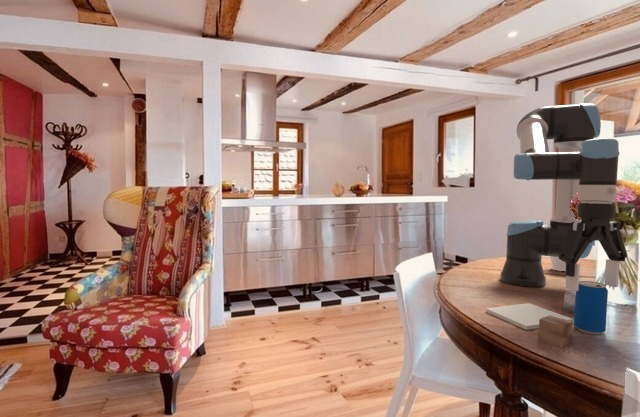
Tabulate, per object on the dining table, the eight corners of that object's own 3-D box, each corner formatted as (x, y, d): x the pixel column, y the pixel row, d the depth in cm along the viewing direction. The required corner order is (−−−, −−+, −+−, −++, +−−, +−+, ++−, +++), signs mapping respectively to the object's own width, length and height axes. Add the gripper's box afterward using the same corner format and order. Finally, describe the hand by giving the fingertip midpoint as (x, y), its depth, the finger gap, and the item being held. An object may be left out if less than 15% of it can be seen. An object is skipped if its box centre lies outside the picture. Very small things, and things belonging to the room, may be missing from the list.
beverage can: (606, 337, 89) (609, 288, 89) (574, 332, 93) (576, 284, 92) (603, 329, 95) (606, 282, 94) (573, 323, 98) (575, 279, 97)
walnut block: (548, 335, 91) (549, 315, 91) (571, 342, 87) (572, 321, 86) (538, 339, 88) (539, 319, 88) (561, 347, 84) (562, 325, 84)
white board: (528, 306, 112) (528, 303, 112) (573, 322, 99) (573, 319, 99) (485, 311, 107) (485, 308, 107) (526, 329, 94) (526, 326, 94)
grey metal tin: (573, 306, 112) (574, 290, 112) (593, 313, 107) (594, 296, 106) (558, 308, 111) (559, 292, 110) (577, 315, 105) (578, 298, 104)
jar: (577, 269, 162) (579, 235, 161) (578, 274, 153) (580, 238, 152) (548, 266, 168) (550, 233, 167) (548, 270, 159) (549, 236, 158)
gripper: (573, 203, 84) (569, 295, 85) (648, 203, 92) (643, 287, 93) (544, 201, 91) (540, 287, 92) (615, 202, 99) (611, 280, 100)
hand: (592, 287), depth 93 cm, fingers open, 13 cm apart
